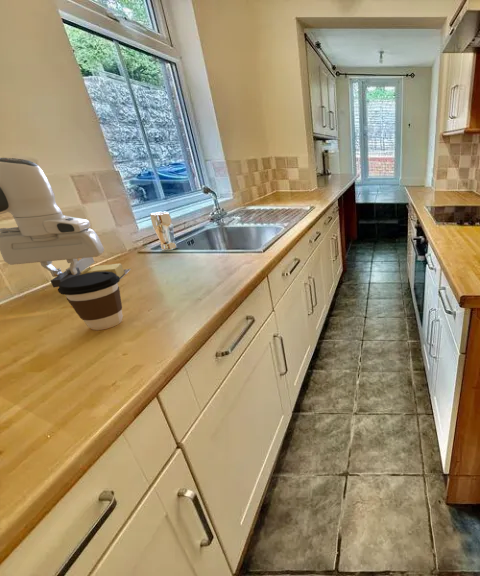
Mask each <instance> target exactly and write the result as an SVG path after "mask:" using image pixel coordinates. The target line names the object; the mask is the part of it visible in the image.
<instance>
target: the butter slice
mask: <svg viewBox="0 0 480 576" xmlns="http://www.w3.org/2000/svg"><path fill="white" fill-rule="evenodd" d="M90 269H92V268H91V265H90V266H89V267H87V268H86V269H84V270H83V271H81V272H80V273H81V274H86V273H88V271H89V270H90ZM81 274H80V275H81Z"/></svg>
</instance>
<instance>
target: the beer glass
mask: <svg viewBox="0 0 480 576" xmlns="http://www.w3.org/2000/svg"><path fill="white" fill-rule="evenodd" d="M149 216H150V220H151V225H152V228H153V230H154V232H155V234H156V236H157V238H158V240H159V243H160V250H161V251H172V250H177V249H178V248H179V247H178V244H177V242H176V239H175V231H174V230H175V229H174V224H173V220H172V218H171V215H170V211H155V212H152V213H150V214H149Z"/></svg>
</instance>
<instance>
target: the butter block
mask: <svg viewBox="0 0 480 576" xmlns="http://www.w3.org/2000/svg"><path fill="white" fill-rule="evenodd" d="M124 270H125V269H124V267H123V264H122V263H111V264H101V265H95V266H93V267H92V268H91V269H90V270H89V271H88V273H92V272H101V271H108V272H113V273H115V274H116V275H117V276H119V278H120V277H121V276H122V275H123V274H124Z"/></svg>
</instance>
